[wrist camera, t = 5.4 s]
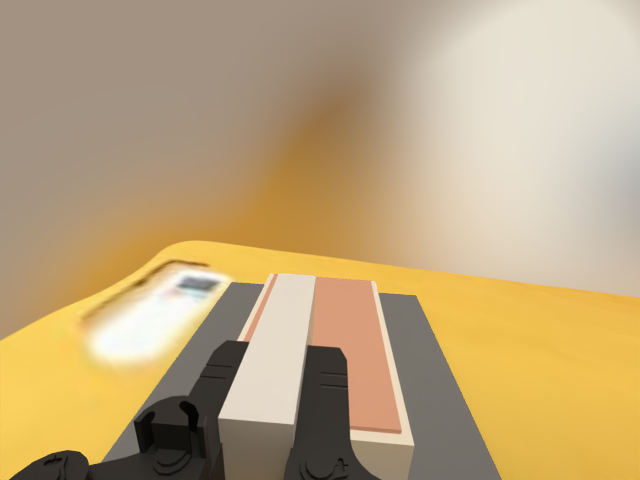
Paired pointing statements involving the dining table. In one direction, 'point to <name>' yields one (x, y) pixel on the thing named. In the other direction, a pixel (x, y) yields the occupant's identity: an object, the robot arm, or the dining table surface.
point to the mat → (413, 373)
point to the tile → (360, 370)
